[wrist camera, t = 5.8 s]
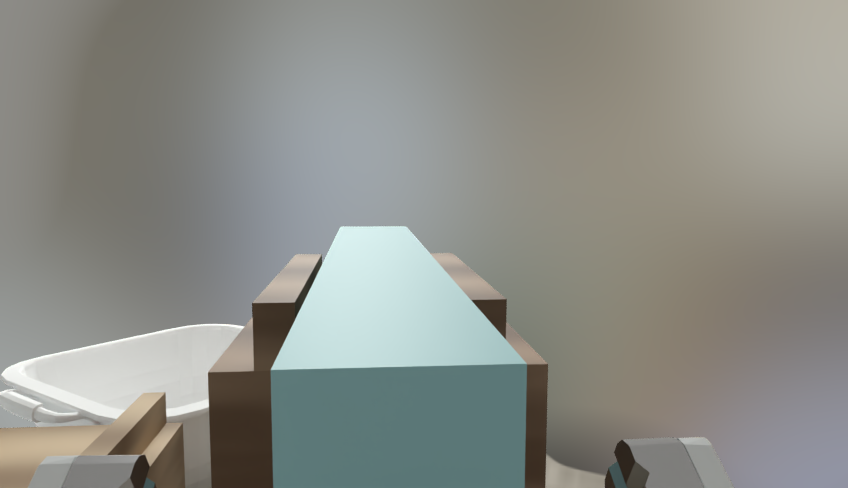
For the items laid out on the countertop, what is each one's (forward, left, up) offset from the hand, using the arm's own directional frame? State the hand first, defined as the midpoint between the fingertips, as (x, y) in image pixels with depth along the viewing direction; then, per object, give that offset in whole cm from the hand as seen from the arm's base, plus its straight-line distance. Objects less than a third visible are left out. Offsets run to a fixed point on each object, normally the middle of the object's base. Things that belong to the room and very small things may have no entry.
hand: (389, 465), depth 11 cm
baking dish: (+28, +56, -27) cm, 68 cm away
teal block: (+8, +8, -1) cm, 11 cm away
